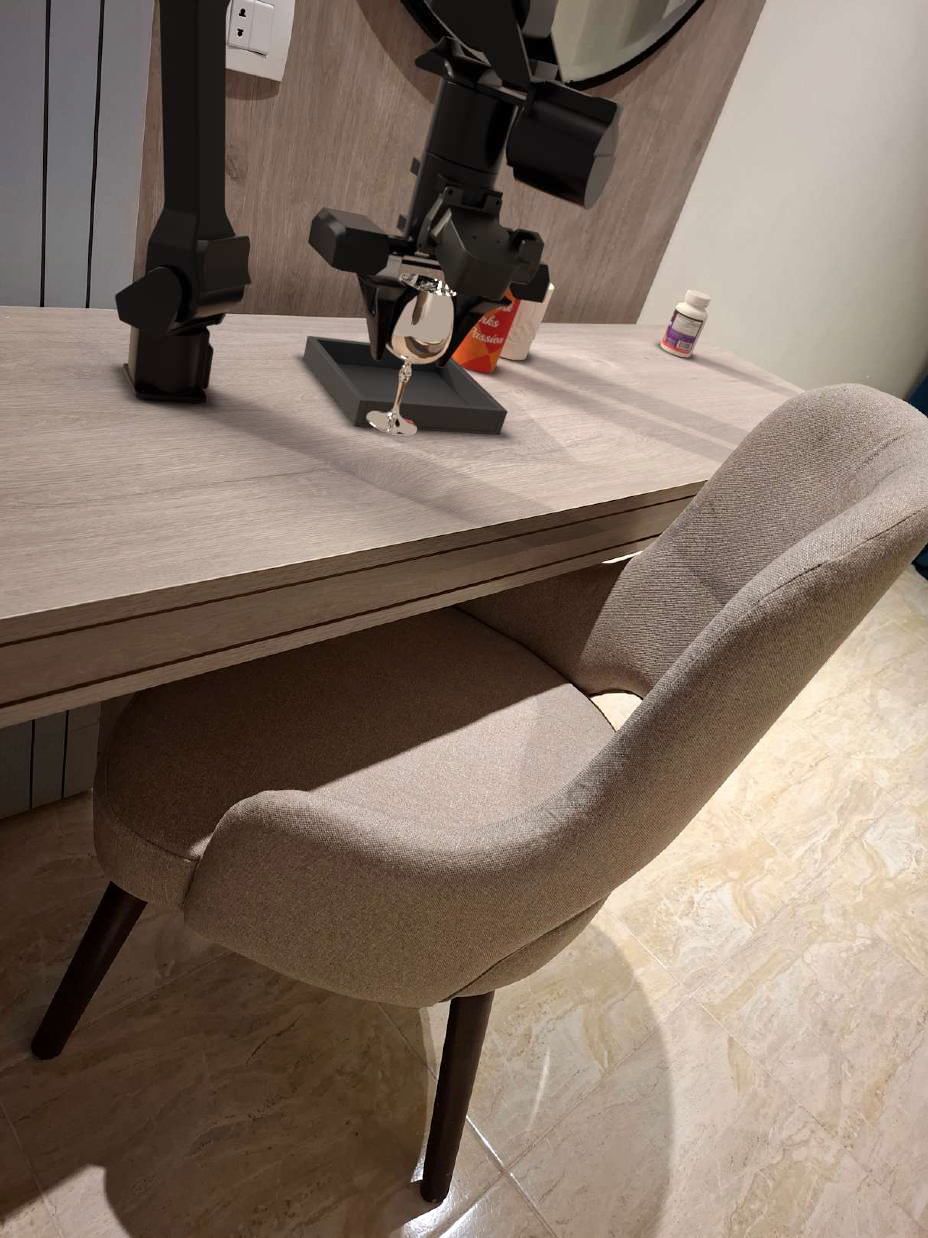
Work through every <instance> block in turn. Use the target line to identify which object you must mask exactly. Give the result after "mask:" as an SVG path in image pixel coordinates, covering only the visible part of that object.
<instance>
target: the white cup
mask: <svg viewBox="0 0 928 1238" xmlns="http://www.w3.org/2000/svg"><path fill="white" fill-rule="evenodd" d="M554 291H555V286H554V284H553V283H552V282H551V283H550V286H549V289H548V292H547V295H546V298H545V301H544V302H543V303H538V302H532V301H526V300H521V302H520V305H519V308H518V310H517V313H516V315H515V318H514V321H513V323H512V326H511V328H510V331H509V333H508V336H507V339H506V341H505V344H504V346H503V349H502V351H501V354H500V356H499V358H504V359H508V360H512V361H522V360H523V361H524V360H526V358H527V356H528V353H529V352H530V349H531V346H532V344H533V341H535V339H536V336H537V334H538V331H539V329H540V326H541V323H542V321H543V319H544V316H545V315H546V311H547V309H548V306H549V303H550V301H551V299H552V296H553V293H554Z"/></svg>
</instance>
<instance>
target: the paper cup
mask: <svg viewBox="0 0 928 1238" xmlns="http://www.w3.org/2000/svg"><path fill="white" fill-rule="evenodd" d="M505 296H506V297H508V298H509V299H510V300H511V301H512V302H513V303H512V304H511V305H510V306H509V307H499V308H497V309H495V310H493V311H491V312H488V313H486V314H485V315H484V316H483V317H482V318H481V319H480V320H479V321H478V322H477V324H476V325H475V326H474V327H473V328H472V329H471V331H470V332H469V333H468V335H467V336H466V337H465V339H464V340H463V342H462V343H461V344H460V346H459V347H458V348H457V350H456V351H455V352H454V354H453V355H452V358H453V359H454V360H455V361H456V362H457V363H458V364H459V365H460V366H461V367H462V368H464V369H467V370H469V371H473V372H477V373H482V374H489V373H492V372H494V370H495V368H496V366H497V363H498V361H499V359H500V354H501V351H502V349H503V346H504V344H505V341H506V339H507V336H508V333H509V331H510V328H511V326H512V323H513V321H514V318H515V315H516V313H517V310H518V308H519V305H520V302H521V300H519V299H516V298H514V297H513V296H512V293H511V291H510V289H509V287H508V289H507V291H506V293H505Z"/></svg>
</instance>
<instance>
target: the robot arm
mask: <svg viewBox="0 0 928 1238" xmlns="http://www.w3.org/2000/svg"><path fill="white" fill-rule="evenodd" d="M157 1H158V15H159V16H158V17H159V20H158V21H159V23H158V24H159V54H160V56H159V57H160V58H159V59H160V94H161V95H160V97H161V99H160V100H161V135H162V136H161V137H162V140H161V141H162V170H163V171H162V178H163V205H162V209H161V211H160V213H159V215H158V218H157V220H156V222H155V224H154V226H153V229H152V231H151V233H150V235H149V237H148V239H147V243H146V251H145V263H144V273H143V276H141V277H140V278H137V280H135V281H134V282H132V283H130V284H129V285H127V286H126V287H125V288H123V289H122V290H120V291H119V292H117V293H116V294H115V295H114V300H115V306H116V310H117V315H118V320H119V321H121V322H122V323H124V324H127V325H129V326H130V334H129V335H130V336H129V347H128V357H127V358H128V359H127V360H128V361H127V362H124V363H123V364H122V371H123V373H124V375H125V378H126V380H127V382H128V384H129V386H130V388H131V391H132V393H133V395H134V396H135V398H138V399H144V400H145V399H146V400H147V399H148V400H161V401H175V402H191V403H207V402H208V399H209V398H208V395H207V393H206V391H205V390H207V389H208V388H209V386H210V379H211V372H212V364H213V359H214V358H213V357H214V351H215V349H214V347H213V346H212V344H211V342H210V338H211V332H210V330H209V329H208V327H210V326H211V327H212V326H218V325H221V324H222V322H223V321H224V319H225V317H226V315H227V313H228V312H229V311H232V310H233V309H234V308H235V307H236V306H238V304H239V303H241V302H242V301H243V298H244V295H245V289H246V286H249V285H251V284H252V279H251V276H250V271H249V270H250V269H249V258H250V253H251V240H250V237H249V236H248V235H244V234H243V235H242V234H241V235H240V234H239V235H238V234H236V232H235V230H234V228H233V226H232V224H231V222H230V219H229V217H228V214H227V211H226V116H227V115H226V112H227V111H226V109H227V108H226V106H227V105H226V104H227V103H226V101H227V99H226V97H227V95H226V94H227V93H226V92H227V86H226V85H227V14H228V8H229V5H230V3H231V1H232V0H157ZM423 1H424V2H425V4H426V6H427V7H428V8H429V10H431V12H432V13H433V14H434V15H435V16H436V17H437V18H438V19H439V21H441V23H443V24H444V25H445V26H446V28H447V29H448V30H449V31H450V32H451V33H452V34H453V35H454V36H455V37H456V38H455V37H454V38H453V37H450V36H443V37H441V39H440V40H439V41H438V42H437V43H436V44H435V45H434V46H432V47H430V48H429V49H427V50H425V51H424V52H422V53H419V54H417V55H416V56H415V57H414V60H413V61H414V62H413V64H414V66H415V67H416V68H417V69H419V70H422V71H425V72H427V73H429V74H432V75H435V76H438V77H440V79H439V84H438V88H437V93H436V97H435V102H434V104H433V109H432V114H431V117H430V122H429V125H428V130H427V132H426V133H427V134H426V138H425V142H424V147H423V149H422V155H421V158H420V157H416V156H413V157H412V161H411V165H410V169H409V172H410V173H412V174H413V175H415V177H416V178H415V183H414V187H413V190H412V195H411V199H410V203H409V207H408V212H407V215H406V214H401V213H399V215H398V219H397V223H396V229H398V231H400V232H401V233H402V235H396V234H392V233H391V234H390V233H387V232H386V231H384V230H383V229H382V228H381V227H380V226H379V225H377V224H376V223H375V222H374V221H373V220H371V218H369V217H368V216H367V215H366V214H361V213H356V212H352V211H351V212H350V211H345V210H341V209H336V208H332V207H331V208H329V207H326V206H324V207H322V208H321V209H320V210H319V211H318V212H317V213H316V214H315V215H314V216H313V218H312V219H311V224H310V229H309V233H308V240H307V243H308V244H309V245H310V247H312V249H314V251H316V253H317V254H318V255H320V257H321V258H322V259H323V260H324V261H325V262H326V263H327V264H328V265H329V266H330V267H331V268H334V269H336V270H338V271H341V272H346V273H353V274H356V278H357V282H358V286H359V288H360V294H361V297H362V302H363V307H364V314H365V320H366V327H367V328H366V329H367V334H368V340H369V343H370V347H371V354H372V357H373V358H374V359H375V360H376V361H381V359H382V356H383V354H384V351H385V348H386V344H387V340H388V335H389V330H390V326H391V321H392V316H393V312H394V307H395V302H396V300H397V299H398V297H399V296H400V295H401V294H402V293H403V291H404V290H405V289H406V286H405V285H404V284H403V283H402V282H401V281H400V280H399V276H400V275H399V274H400V270H401V267H402V266H401V265H406V266H407V265H408V266H413V267H418V268H423V269H424V268H425V269H428V270H429V269H430V270H434V271H435V270H436V271H441V272H442V274H443V280H444V281H443V282H444V283H446V285H447V286H448V288H449V289H450V290H451V291H453V292H454V293H456V294H457V309H456V320H455V327H454V332H453V336H452V339H451V342H450V344H449V346H448V349H447V350H446V352H445V353H444V355H443V356H442V357H441V358H439V359H438V360H436V361H434V362H435V364H436V365H437V366H438V367H439V368H443V367H444V366H445V365H446V363H447V362H448V361H449V359H450V358H451V357H452V358H453V354H454V352H455V351H456V350H457V348H458V347H459V346H460V344H461V343H462V342H463V340H464V339H465V337H466V336H467V335H468V333H469V332H470V331H471V329H472V328H473V327H474V326H475V325H476V324H477V322H478V321H479V320H480V319H481V318H482V317H483V316H484V315H485V314H486V313H488V312H491V311H493V310H495V309H497V308H499V307H509V306H510V305H511V304H512V303H513V302H512V301H511V300H510V299H509V298H508V297H506V296H505V293H506V291H507V289H508V287H509V289H510V291H511V293H512V296H513V297H514V298H516V299H519V300H526V301H532V302H538V303H543V302H544V301H545V298H546V295H547V292H548V289H549V286H550V283H552V280H551V272H550V271H551V270H550V268H549V265H548V264H547V263H546V262H545V261H544V260H543V261H542V257H543V256H542V255H543V252H544V248H545V245H546V244H545V242H544V240H543V238H542V236H541V235H540V233H539V232H538V231H533V230H528V229H525V228H516V229H515V230H514V229H513V228H511V227H506V226H503V225H502V224H501V223H500V219H501V218H500V217H501V215H500V213H501V211H502V210H501V209H502V206H503V195H504V192H503V191H501V190H499V188H497V187H496V186H497V182H498V178H499V175H500V172H501V168H502V165H503V161H504V157H505V159H506V166H507V167H510V168H512V174H513V179H514V181H515V182H517V184H520V185H523V186H526V187H528V188H531V189H533V190H536V191H538V192H540V193H543V194H546V195H548V196H550V197H553V198H556V199H557V200H561V201H562V202H565V203H568V204H570V205H572V206H576V207H578V208H580V209H583V210H585V211H589V210H591V209H592V208H593V207H594V206H595V205H596V203H597V202H598V200H599V199H600V198H601V196H602V194H603V192H604V190H605V188H606V185H607V183H608V181H609V179H610V177H611V174H612V171H613V169H614V166H615V163H616V160H617V156H616V155H615V154H616V151H617V146H618V142H619V141H618V140H619V135H620V125H619V123H620V120H621V117H622V115H623V112H624V108H625V107H624V105H623V103H622V102H619V101H616V100H614V99H611V98H608V97H601V96H593V95H590V94H587V93H585V92H582V91H581V90H577V89H574V88H572V87H569V86H566V84H565V81H564V77H563V73H562V68H561V64H560V59H559V56H558V51H557V47H556V43H555V38H554V34H553V30H552V28H553V25H554V21H555V15H556V6H557V5H556V0H423ZM460 42H461V43H462V44H463V45H464V46H466V48H468V49H471V50H473V51H476V52H477V53H481V54H483V56H484V57H485V59H486V60H487V62H488V64H487V63H485V62H482V61H479V60H477V59H474V58H472V57H469V56H466V54H465V53H464V50H463V48H462V46H461V43H460ZM503 81H504V82H507V83H509V84H513V85H514V86H518V87H521V88H522V89H526V90H527V92H526V96H524V95H522V94H520V93H517V92H515V91H512V90H510V89H507V88H505V87H503Z"/></svg>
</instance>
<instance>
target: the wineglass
mask: <svg viewBox="0 0 928 1238" xmlns="http://www.w3.org/2000/svg"><path fill="white" fill-rule="evenodd" d="M398 279H399V280H400V281H401V282H402V283H403V284H404V285H405V286H406V289H405V290H404V291H403V293H402V294H401V295H400V296H399V297H398V299H397V300H396V302H395V307H394V312H393V316H392V321H391V326H390V330H389V335H388V340H387V344H386V347H387V349H388V350H389V351H390V352H391V353H392V354H393V355H394V356H396V357H397V358H398V359H400V360H402V361H404V362H405V363H404V365H403V366H402V367H401V369H400V371H399V385H398V392H397V396H396V399H395V403H394V405H393V407H392V409H391V410H390V411H383V410H376V411H371V412H369V413H368V414H367V416H366V418H367V421H368V422H369V423H370V424H371V425H372V426H374V427H373V428H375V429H377V430H378V431H381V432H383V433H385V434H386V433H387V434H388V435H393V436H400V437H408V436H409V437H410V436H413V435H415V434H416V433H417V432H418V430H417V426H416V425H415V424H414V423H413V422H412V421H411V420H410V419H408V418H406V417H404V416H402V415H400V413H399V406H400V402H401V397H402V394H403V391H404V388H405V386H406V384H407V382H408V380H409V379H410V376H411V371H412V369H411V364H428V363H432V362H434V361H436V360H438V359H439V358H441V357H442V356H443V355H444V353H445V352H446V350H447V349H448V346H449V344H450V342H451V339H452V336H453V332H454V327H455V320H456V309H457V294H456V293H454V292H453V291H451V290H450V289H449V288H448V286H447V285H446V283H445V281H443V280H440V279H437V278H435V277H433V276H428V275H425V274H420V273H415V272H403V273H401V274H400V275H399V276H398Z"/></svg>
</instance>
